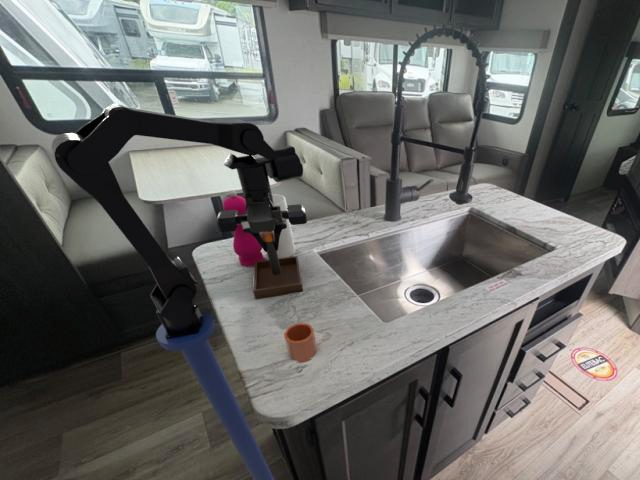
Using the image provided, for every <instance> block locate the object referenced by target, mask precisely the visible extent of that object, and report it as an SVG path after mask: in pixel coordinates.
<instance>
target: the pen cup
mask: <svg viewBox="0 0 640 480" xmlns="http://www.w3.org/2000/svg"><path fill="white" fill-rule="evenodd" d="M315 335H316V333H315V329H314V327H313V326H312V325H311V324H308V323H306V322H305V323H304V322H299V323H295V324H292V325H290V326H288V327H287V328H286V329H285V331H284V333H283V336H284V337H283V338H284V341H285V344H286V349H287V353H288V356H289V358H290V359H292V361H294V362H295V361H296V363H298V364H302V363H307V362H310V361H312V360H313V358H314V357H315V356H316V354H317V352H318V345H317V340H316V336H315Z"/></svg>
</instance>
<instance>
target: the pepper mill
mask: <svg viewBox="0 0 640 480" xmlns="http://www.w3.org/2000/svg"><path fill="white" fill-rule="evenodd" d="M222 210H223V211H227V210H237V211H238V214H239V215H243V214H246V202H245V198H244V196H240V195H237V192H236V191H235V190H229V191H228V197H226V198H224V200H223V201H222ZM233 233H234V235H233V242H232V247H233V251H234V253H235V254H236V255H238V260H239V263H240V265H241V266H244V267H255V261H263V260H265V257H264V254H263V252H262V250H263V248H262V247H261V245H260V244H259V243H258V241H257V240H256V239H255V238H254V236H253V235H251V234H250V233H244V232H243V226H242V224H237V228H236V230H235V231H233Z"/></svg>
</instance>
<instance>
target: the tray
mask: <svg viewBox="0 0 640 480" xmlns="http://www.w3.org/2000/svg"><path fill="white" fill-rule="evenodd" d="M279 264H280V268H281V274H279V275H273V274H272V270H271V266H270V262H269V259H263V261H255V266H253V267H254V270H253V287H252V293H253V296H254V299H255V300H260V299H261V300H262V299H266V298H273V297H279V296H286V295H291V294H297V293H303V292H304V288H303V281H302V274H301V266H300V261H299V256H298V255H295V256H290V257H287V258H279Z"/></svg>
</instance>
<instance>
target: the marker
mask: <svg viewBox="0 0 640 480" xmlns="http://www.w3.org/2000/svg"><path fill="white" fill-rule="evenodd" d="M262 236H263V240H264V242H265V246H266V249H267V254H268V256H267V258H268V260H269V262H270V266H271V270H272V274H273V275H279V274H281V268H280V264H279V259H278V255H277V251H276V248H275V242H274V236H273V232H267V231H266V232H263V233H262ZM267 254H266V255H267Z"/></svg>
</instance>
